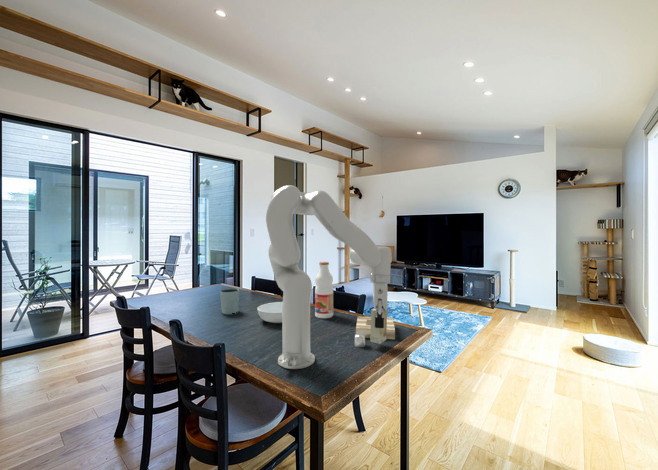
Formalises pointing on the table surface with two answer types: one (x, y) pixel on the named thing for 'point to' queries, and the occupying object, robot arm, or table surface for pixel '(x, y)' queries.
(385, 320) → the skincare box
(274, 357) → the table surface
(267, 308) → the serving bowl
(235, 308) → the grey cup
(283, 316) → the robot arm
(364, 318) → the plate
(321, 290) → the fruit juice
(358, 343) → the short metal peg
